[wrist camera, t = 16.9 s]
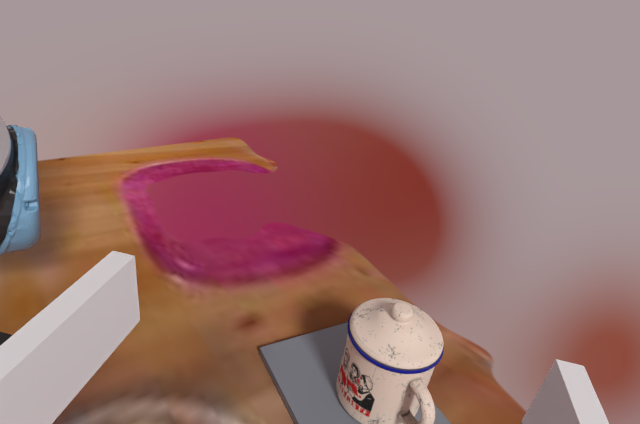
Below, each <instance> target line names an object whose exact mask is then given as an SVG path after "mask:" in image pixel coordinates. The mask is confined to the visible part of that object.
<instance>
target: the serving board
mask: <svg viewBox="0 0 640 424" xmlns="http://www.w3.org/2000/svg"><path fill="white" fill-rule="evenodd" d="M347 326H348V322H346V323H343V324H340V325H336V326H333V327H329V328H326V329H322V330H319V331H315V332H312V333H308V334H305V335H301V336H298V337H294V338H291V339H287V340H284V341H281V342H277V343H274V344H270V345H267V346H263V347H260V350H259V355H260V357H261V359H262V361H263V363H264V365H265V367H266V369H267V371H268V373H269V374H270V376H271V378H272V380H273V382H274V384H275V386H276V388H277V390H278V392H279V394H280V396H281V398H282V400H283V402H284V404H285V406H286V408H287V410H288V412H289V414H290V416H291V418H292V420H293V422H294V424H362V423H360V422H358V421H357V420H356V419H354V418H353V417H352V416H351V415H350V414H349V413H348V412H347V411H346V410H345V409H344V407H343V406H342V404H341V402H340V400H339V397H338V394H337V389H336V382H337V377H338V373H339V369H340V364H341V360H342V356H343V352H344V348H345V343H346V339H347V335H348V329H347ZM433 403H434V402H433ZM434 407H435V420H434V423H433V424H451V423H450V422H449V421H448V419H447V418H446V417H445V416H444V415H443V413H442V412H441V411H440V410H439V409H438V407H437V406H436V405H435V404H434ZM415 419H416V420H417V421H418V422H420V419H421V409H420V406H419V408H418V411H417V413H416V415H415Z"/></svg>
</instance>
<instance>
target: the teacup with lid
mask: <svg viewBox="0 0 640 424" xmlns="http://www.w3.org/2000/svg"><path fill="white" fill-rule="evenodd" d="M347 329H348V335H347V339H346V343H345V348H344V352H343V356H342V360H341V364H340V369H339V373H338V377H337V382H336V389H337V394H338V397H339V400H340V402H341V404H342V406H343V407H344V409H345V410H346V411H347V412H348V413H349V414H350V415H351V416H352V417H353V418H354V419H356V420H357V421H358V422H360V423H362V424H433V423H434V420H435V407H434V403H433V399H432V397H431V395H430V393H429V391H428V389H427V385H428V383H429V380H430V378H431V375H432V373H433V370H434V367H435V366H436V365H437V364H438V362H439V361H440V359H441V357H442V355H443V349H444V346H443V338H442V335H441V332H440V330H439V328H438V326H437V325H436V323H435V322H434V321H433V319H432V318H431V317H430V316H429V315H427V314H426V313H425V312H424V311H422V310H421V309H419V308H418V307H416V306H414V305H412V304H409V303H407V302H404V301H401V300H397V299H391V298H377V299H372V300H369V301H366V302H364V303H362V304H361V305H359V306H358V307H357V308H356V309H355V310H354V311H353V312H352V314H351V315H350V317H349V320H348V326H347ZM419 406H420V409H421V419H420V422H418V421H417V420H416V419H415V415H416V413H417V411H418V408H419Z"/></svg>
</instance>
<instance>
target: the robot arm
mask: <svg viewBox="0 0 640 424" xmlns="http://www.w3.org/2000/svg"><path fill="white" fill-rule="evenodd" d="M39 238H40V203H39V181H38V162H37V143H36V135H35V133H34V131H32V130H31V129H29V128H23V127H18V126H17V125H9V126H6V125H5V122H4V121H3V119H2V118H1V117H0V255H1V254H3V253H7V252H14V251H20V250H26V249H29V248H31V247H33V246H34V245H35V244H36V243H37V242H38V240H39ZM139 321H140V313H139V301H138V289H137V277H136V265H135V256H133V255H129V254H125V253H121V252H117V251H112V252H111V253H110V254H108V255H107V256H106V257H105V258H104V259H102V260H101V261H100V262H99V263H98V264H97V265H95V266H94V267H93V268H92V269H91V270H89V271H88V272H87V273H86V274H85V275H83V276H82V277H81V278H80V279H79V280H78V281H76V282H75V283H74V284H73V285H72V286H70V287H69V288H68V289H67V290H66V291H65V292H63V293H62V294H61V295H60V296H59V297H57V298H56V299H55V300H54V301H53V302H51V303H50V304H49V305H48V306H47V307H46V308H44V309H43V310H42V311H41V312H40V313H38V314H37V315H36V316H35V317H34V318H32V319H31V320H30V321H29V322H28V323H27V324H25V325H24V326H23V327H22V328H21V329H19V330H18V331H17V332H16V333H15V334H14V335H10V334H6V333H3V332H0V424H52V423H53V422H54V421H55V420H56V418H57V417H58V416H59V415H60V414H61V413H62V411H63V410H64V409H65V408H66V407H67V406H68V404H69V403H70V402H71V401H72V400H73V398H74V397H75V396H76V395H77V394H78V393H79V391H80V390H81V389H82V388H83V387H84V386H85V384H86V383H87V382H88V381H89V380H90V379H91V377H92V376H93V375H94V374H95V373H96V371H97V370H98V369H99V368H100V367H101V366H102V364H103V363H104V362H105V361H106V360H107V359H108V357H109V356H110V355H111V354H112V353H113V351H114V350H115V349H116V348H117V347H118V346H119V344H120V343H121V342H122V341H123V340H124V339H125V337H126V336H127V335H128V334H129V333H130V332H131V330H132V329H133V328H134V327H135V326H136V324H137V323H138V322H139ZM522 424H609V422H608V420H607V418H606V415H605V413H604V411H603V409H602V407H601V404H600V402H599V400H598V397H597V395H596V393H595V390H594V388H593V386H592V384H591V381H590V379H589V377H588V374H587V372H586V370H585V368H584V366H581V365H577V364H573V363H569V362H565V361H561V360H557V359H556V360H555V362H554V364H553V366H552V367H551V369H550V371H549V373H548V375H547V376H546V378H545V380H544V382H543V384H542V385H541V387H540V389H539V391H538V392H537V394H536V396H535V398H534V400H533V402H532V403H531V405H530V407H529V409H528V410H527V412H526V414H525V416H524V417H523V419H522Z"/></svg>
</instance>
